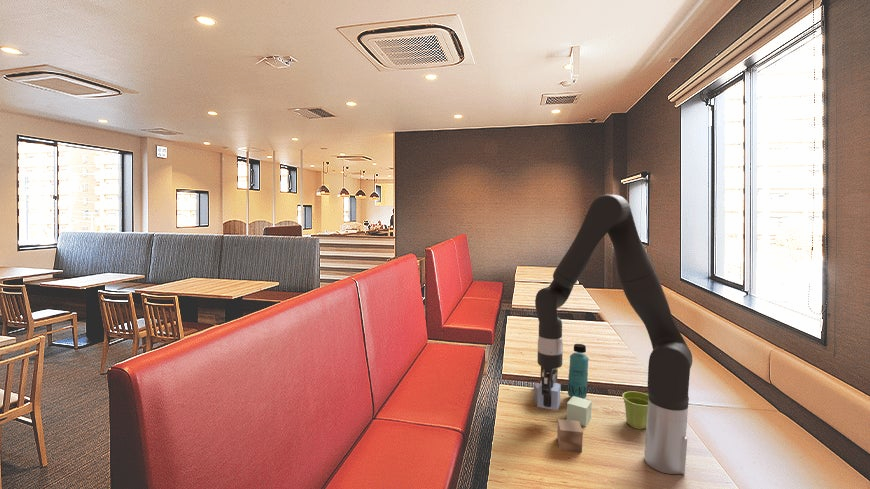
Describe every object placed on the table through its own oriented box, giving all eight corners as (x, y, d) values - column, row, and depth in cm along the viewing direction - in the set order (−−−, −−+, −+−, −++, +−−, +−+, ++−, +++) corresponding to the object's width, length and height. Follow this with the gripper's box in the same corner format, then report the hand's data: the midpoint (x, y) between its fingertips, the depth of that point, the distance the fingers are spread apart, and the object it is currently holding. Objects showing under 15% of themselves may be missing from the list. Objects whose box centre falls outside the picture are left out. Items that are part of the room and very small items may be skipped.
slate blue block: (560, 402, 132) (560, 383, 132) (557, 410, 127) (557, 391, 126) (541, 398, 135) (541, 380, 134) (537, 406, 129) (537, 388, 129)
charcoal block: (550, 399, 147) (551, 383, 146) (555, 408, 141) (556, 391, 140) (533, 399, 147) (534, 383, 146) (537, 407, 141) (538, 391, 140)
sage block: (590, 418, 134) (591, 401, 133) (585, 426, 129) (586, 408, 129) (572, 413, 138) (572, 395, 137) (566, 420, 133) (567, 403, 132)
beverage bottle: (565, 394, 150) (568, 341, 148) (584, 395, 150) (587, 342, 148) (569, 403, 144) (571, 347, 142) (588, 404, 143) (591, 348, 141)
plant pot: (653, 435, 124) (655, 408, 124) (619, 427, 129) (621, 400, 128) (654, 421, 133) (655, 395, 132) (621, 414, 137) (623, 388, 136)
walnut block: (578, 440, 122) (579, 421, 121) (581, 452, 116) (582, 432, 115) (557, 438, 123) (557, 419, 122) (559, 450, 117) (560, 430, 116)
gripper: (558, 359, 121) (557, 414, 123) (565, 344, 134) (564, 394, 136) (533, 355, 124) (532, 409, 126) (542, 341, 137) (541, 390, 139)
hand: (549, 401), depth 131 cm, fingers closed on slate blue block, 6 cm apart
